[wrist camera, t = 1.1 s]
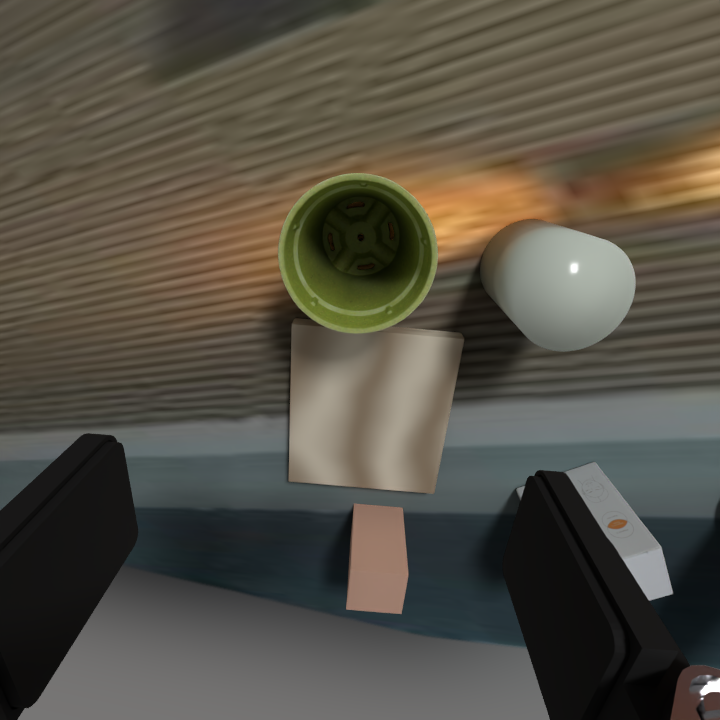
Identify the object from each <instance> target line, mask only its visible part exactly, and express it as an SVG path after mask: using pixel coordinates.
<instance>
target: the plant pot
mask: <svg viewBox="0 0 720 720" xmlns="http://www.w3.org/2000/svg"><path fill="white" fill-rule="evenodd" d="M354 202H363V203H364V205H365V206H363V207H353V208H349V209H347V208H346V207H347V206H348V205H349V204H352V203H354ZM388 222H390V223H392V226H393V230H394V238H393V240H390V231H389V227H388ZM330 233H331V234H332V238H333V244H334V248H335V250H334V251H332V250H331V248H330V244H329V242H328V234H330ZM359 234H363V236H364V240H362V241H360V240H358V235H359ZM278 260H279V268H280V272H281V276H282V279H283V282H284V285H285V287H286V289H287V291H288V293H289V294H290V296H291V298H292V299H293V301H294V302H295V303H296V305H297V306H298V307H299V308H300V309H301V310H302V311H303V312H304V313H305V314H306V315H307V316H309V317H310V318H311V319H312V320H314V321H315V322H317V323H318V324H321V325H322V326H325V327H327V328H329V329H332V330H335V331H338V332H343V333H350V334H363V333H371V332H376V331H380V330H383V329H386V328H389V327H391V326H393V325H395V324H397V323H398V322H400V321H401V320H403V319H405V318H406V317H407V316H408V315H410V314H411V313H412V312H413V311H414V310H415V309H416V308H417V307H418V306H419V305H420V303H421V302H422V301H423V300H424V298H425V296H426V295H427V293H428V291H429V290H430V288H431V285H432V283H433V280H434V277H435V273H436V269H437V260H438V248H437V240H436V235H435V231H434V228H433V226H432V223H431V221H430V219H429V217H428V215H427V213H426V212H425V210H424V208H423V207H422V206H421V204H420V203H419V202H418V201H417V200H416V198H415V197H414V196H412V195H411V194H410V193H409V192H408V191H407V190H405V189H404V188H403V187H401V186H400V185H398V184H397V183H395V182H393V181H391V180H389V179H386V178H384V177H380V176H376V175H372V174H361V173H352V174H344V175H339V176H336V177H332V178H330V179H327V180H325V181H323V182H321V183H319V184H317V185H316V186H314V187H313V188H311V189H310V190H309V191H308V192H306V193H305V194H304V195H303V196H302V197H301V198H300V199H299V200H298V201H297V202H296V203H295V205H294V206H293V208H292V209H291V211H290V212H289V214H288V216H287V218H286V220H285V222H284V225H283V228H282V231H281V234H280V239H279V247H278ZM371 263H374V264H375V265H374V267H373V268H371V269H366V270H360V269H358V268H357V266H358V265H368V264H371Z"/></svg>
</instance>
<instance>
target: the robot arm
mask: <svg viewBox="0 0 720 720" xmlns="http://www.w3.org/2000/svg"><path fill="white" fill-rule="evenodd" d="M137 536H138V526H137V521H136V515H135V509H134V504H133V498H132V492H131V487H130V481H129V475H128V470H127V464H126V458H125V453H124V448H123V445H122V444H121V443H119V442H117V440H116V438H115V437H114V436H112V435H101V434H89V433H87V434H84V435H82V436H81V437H79V438H78V439H77V440H76V441H75V442H74V443H73V444H72V445H71V446H70V447H69V448H68V449H67V450H65V451H64V452H63V453H62V454H61V455H60V456H59V457H58V458H57V459H56V460H55V461H54V462H52V463H51V464H50V465H49V466H48V467H47V468H46V469H45V470H44V471H43V472H42V473H41V474H39V475H38V476H37V477H36V478H35V479H34V480H33V481H32V482H31V483H30V484H29V485H28V486H27V487H25V488H24V489H23V490H22V491H21V492H20V493H19V494H18V495H17V496H16V497H15V498H14V499H12V500H11V501H10V502H9V503H8V504H7V505H6V506H5V507H4V508H3V509H2V510H1V511H0V720H17V719H18V717H19V716H20V714H21V713H22V711H23V710H24V708H29V707H31V706H32V705H33V704H34V703H35V702H36V701H37V700H38V698H39V697H40V696H41V694H42V692H43V691H44V689H45V687H46V686H47V684H48V683H49V681H50V680H51V678H52V676H53V675H54V673H55V671H56V670H57V668H58V667H59V665H60V663H61V662H62V660H63V659H64V657H65V656H66V654H67V652H68V651H69V649H70V648H71V646H72V645H73V643H74V641H75V640H76V638H77V637H78V635H79V633H80V632H81V630H82V629H83V627H84V625H85V624H86V622H87V621H88V619H89V617H90V616H91V614H92V613H93V611H94V609H95V608H96V606H97V605H98V603H99V601H100V600H101V598H102V597H103V595H104V593H105V592H106V590H107V589H108V587H109V585H110V584H111V582H112V581H113V579H114V577H115V576H116V574H117V573H118V571H119V570H120V568H121V566H122V565H123V563H124V562H125V560H126V558H127V557H128V555H129V554H130V552H131V550H132V549H133V547H134V545H135V543H136V540H137ZM503 574H504V578H505V581H506V584H507V587H508V590H509V593H510V596H511V600H512V603H513V606H514V609H515V612H516V615H517V618H518V621H519V624H520V627H521V631H522V634H523V637H524V640H525V643H526V646H527V649H528V652H529V655H530V658H531V662H532V664H533V668H534V670H535V674H536V677H537V680H538V683H539V687H540V690H541V693H542V696H543V699H544V702H545V705H546V708H547V711H548V715H549V718H550V720H720V670H719V669H716V668H712V667H708V666H705V665H691V666H690V664H689V663H688V661H687V660H686V658H685V657H684V655H683V653H682V652H681V650H680V649H679V647H678V646H677V644H676V642H675V641H674V639H673V638H672V636H671V635H670V633H669V631H668V630H667V628H666V627H665V625H664V624H663V622H662V620H661V619H660V617H659V616H658V614H657V613H656V611H655V609H654V608H653V606H652V605H651V603H650V602H649V600H648V598H647V597H646V595H645V594H644V592H643V591H642V589H641V587H640V586H639V584H638V583H637V581H636V580H635V578H634V576H633V575H632V573H631V572H630V570H629V569H628V567H627V566H626V564H625V562H624V561H623V559H622V558H621V556H620V555H619V553H618V551H617V550H616V548H615V547H614V545H613V544H612V543H611V541H610V540H609V539H608V538H607V537H606V535H605V533H604V532H603V530H602V529H601V527H600V526H599V524H598V522H597V521H596V519H595V518H594V516H593V515H592V513H591V511H590V510H589V508H588V507H587V505H586V503H585V502H584V500H583V499H582V497H581V496H580V494H579V492H578V491H577V489H576V488H575V486H574V485H573V483H572V481H571V480H570V478H569V477H568V475H567V474H566V473H564V472H556V471H544V470H539V471H537V472H536V473H535V475H534V476H529V477H528V478H527V481H526V484H525V487H524V491H523V494H522V497H521V501H520V504H519V507H518V511H517V514H516V517H515V521H514V524H513V527H512V531H511V534H510V537H509V541H508V544H507V547H506V551H505V554H504V557H503Z"/></svg>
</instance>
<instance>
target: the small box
mask: <svg viewBox="0 0 720 720" xmlns="http://www.w3.org/2000/svg"><path fill="white" fill-rule="evenodd" d="M564 473H566V474H567V475H568V477H569V478H570V480H571V481H572V483H573V485H574V486H575V488H576V489H577V491H578V492H579V494H580V496H581V497H582V499H583V500H584V502H585V503H586V505H587V507H588V508H589V510H590V511H591V513H592V515H593V516H594V518H595V519H596V521H597V522H598V524H599V526H600V527H601V529H602V530H603V532H604V533H605V535H606V537H607V538H608V539H609V540H610V541H611V543H612V544H613V545H614V547H615V548H616V550H617V551H618V553H619V555H620V556H621V558H622V559H623V561H624V562H625V564H626V566H627V567H628V569H629V570H630V572H631V573H632V575H633V576H634V578H635V580H636V581H637V583H638V584H639V586H640V587H641V589H642V591H643V592H644V594H645V595H646V597H647V598H648V600H653V599H657V598H661V597H664V596H668V595H672V594H673V591H672V587H671V583H670V579H669V575H668V571H667V567H666V563H665V559H664V556H663V552H662V548H661V546H660V545H659V543H658V542H657V541H656V539H655V538H654V537H653V536H652V534H651V533H650V532H649V531H648V529H647V528H646V527H645V525H644V524H643V523H642V522H641V520H640V519H639V518H638V516H637V515H636V514H635V513H634V511H633V510H632V509H631V507H630V506H629V505H628V503H627V502H626V501H625V500H624V498H623V497H622V496H621V494H620V493H619V492H618V491H617V489H616V488H615V487H614V486H613V484H612V483H611V482H610V480H609V479H608V478H607V477H606V475H605V474H604V473H603V472H602V470H601V469H600V468H599V466H598V465H597V464H596V463H595V462H592V463H589V464H586V465H583V466H580V467H577V468H575V469H572V470H569V471H566V472H564ZM524 487H525V486H522V487H519V488H517V489H516V491H517V494H518V496H519V498H520V501H521V497H522V494H523V491H524Z"/></svg>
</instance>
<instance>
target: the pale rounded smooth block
mask: <svg viewBox="0 0 720 720" xmlns="http://www.w3.org/2000/svg"><path fill="white" fill-rule="evenodd" d="M480 277H481V281H482V285H483V287H484V289H485V291H486V292H487V294H488V295H489V296H490V297H491V298H492V299H493V300H494V302H495V303H496V304H497V305H498V306H499V307H500V308H501V309H502V310H503V311H504V313H505V314H506V315H507V316H508V317H509V318H510V319H511V320H512V321H513V323H514V324H515V325H516V326H517V327H518V328H519V329H520V330H521V331H522V333H523V334H524V335H525V336H526V337H527V338H528V339H529V340H531V341H532V342H533V343H535V344H536V345H538V346H540V347H543V348H545V349H549V350H554V351H574V350H578V349H582V348H585V347H588V346H590V345H593V344H595V343H597V342H598V341H600V340H602V339H603V338H605V337H606V336H608V335H609V334H610V333H611V332H612V331H613V330H614V329H615V328H616V327H617V326H618V325H619V324H620V323H621V321H622V320H623V319H624V317H625V316H626V314H627V312H628V311H629V308H630V306H631V304H632V301H633V297H634V293H635V273H634V270H633V266H632V264H631V262H630V260H629V258H628V257H627V255H626V254H625V253H624V252H623V251H622V250H621V249H620V248H619V247H617V246H616V245H615V244H613V243H611V242H609V241H607V240H604V239H601V238H597V237H594V236H591V235H588V234H585V233H582V232H578V231H575V230H572V229H569V228H566V227H562V226H559V225H556V224H553V223H550V222H547V221H543V220H538V219H526V220H521V221H517V222H514V223H512V224H510V225H508V226H506V227H505V228H503V229H502V230H500V231H499V232H498V233H497V234H496V235H495V236H494V237H493V238H492V239H491V241H490V242H489V243H488V245H487V247H486V248H485V250H484V253H483V255H482V259H481V264H480Z"/></svg>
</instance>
